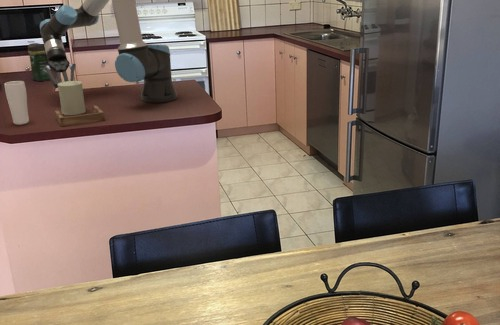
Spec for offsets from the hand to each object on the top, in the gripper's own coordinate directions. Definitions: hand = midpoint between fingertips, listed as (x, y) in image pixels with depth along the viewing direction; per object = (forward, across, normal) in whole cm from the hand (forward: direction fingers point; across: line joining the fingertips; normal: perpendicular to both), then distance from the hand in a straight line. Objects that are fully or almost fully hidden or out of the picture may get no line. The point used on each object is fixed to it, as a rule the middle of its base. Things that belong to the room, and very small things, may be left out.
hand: (68, 100), depth 208 cm
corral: (+15, -1, +10) cm, 18 cm away
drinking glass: (+11, +19, +6) cm, 23 cm away
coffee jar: (-47, +2, -52) cm, 70 cm away
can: (+7, -1, +2) cm, 7 cm away
